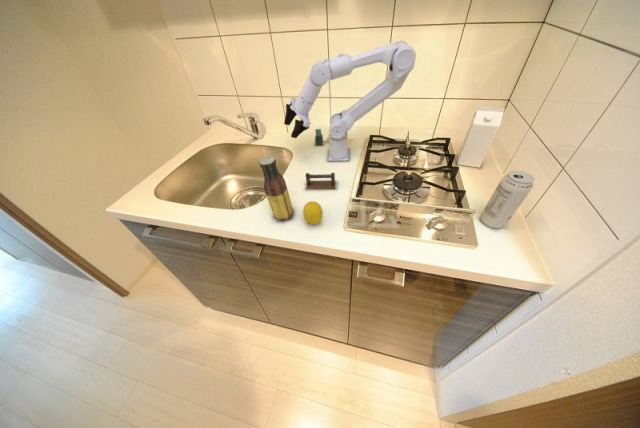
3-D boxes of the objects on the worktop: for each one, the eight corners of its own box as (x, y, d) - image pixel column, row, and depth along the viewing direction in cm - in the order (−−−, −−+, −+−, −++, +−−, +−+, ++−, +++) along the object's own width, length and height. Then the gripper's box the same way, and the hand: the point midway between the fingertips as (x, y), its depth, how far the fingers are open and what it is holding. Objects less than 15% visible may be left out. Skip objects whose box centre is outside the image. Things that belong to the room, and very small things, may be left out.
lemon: (321, 230, 65) (319, 210, 59) (302, 228, 66) (298, 208, 60) (325, 217, 68) (323, 196, 63) (307, 215, 70) (304, 195, 64)
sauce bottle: (285, 205, 74) (271, 149, 60) (297, 214, 70) (286, 157, 56) (269, 216, 71) (250, 160, 57) (281, 226, 67) (264, 168, 53)
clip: (316, 141, 104) (315, 127, 100) (322, 141, 104) (321, 127, 99) (315, 145, 102) (314, 131, 97) (322, 145, 101) (321, 131, 97)
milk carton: (458, 155, 87) (478, 102, 74) (479, 158, 84) (504, 104, 71) (457, 164, 83) (478, 110, 69) (479, 168, 80) (506, 113, 67)
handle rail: (307, 182, 82) (306, 170, 78) (335, 182, 81) (335, 170, 77) (306, 189, 79) (304, 177, 76) (335, 189, 78) (334, 177, 74)
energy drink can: (507, 231, 59) (542, 185, 49) (481, 228, 61) (509, 182, 50) (501, 215, 63) (531, 170, 53) (477, 213, 65) (502, 168, 54)
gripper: (289, 83, 79) (274, 116, 88) (305, 108, 73) (287, 141, 82) (305, 89, 84) (290, 120, 92) (321, 113, 78) (303, 144, 86)
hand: (289, 130), depth 87 cm, fingers open, 7 cm apart
